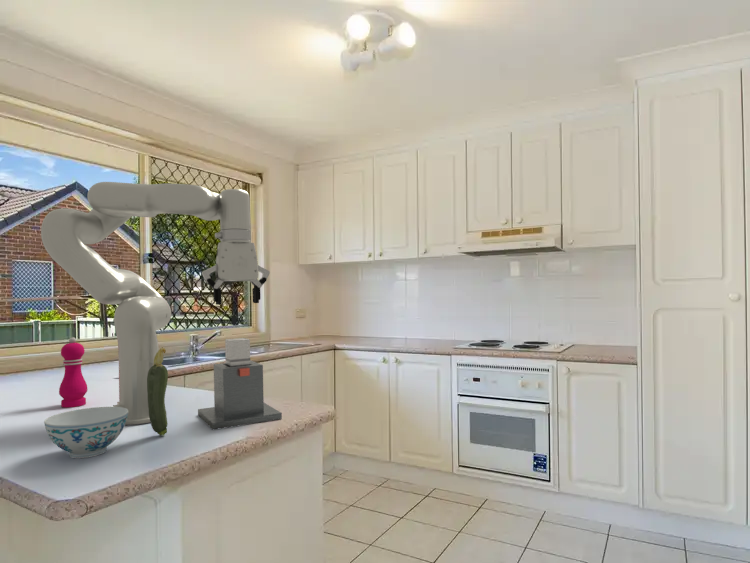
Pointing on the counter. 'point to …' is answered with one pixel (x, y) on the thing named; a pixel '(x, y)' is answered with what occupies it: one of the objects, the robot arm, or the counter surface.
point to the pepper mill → (73, 376)
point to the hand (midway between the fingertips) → (237, 303)
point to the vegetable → (157, 393)
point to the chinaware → (86, 429)
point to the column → (237, 352)
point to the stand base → (238, 397)
